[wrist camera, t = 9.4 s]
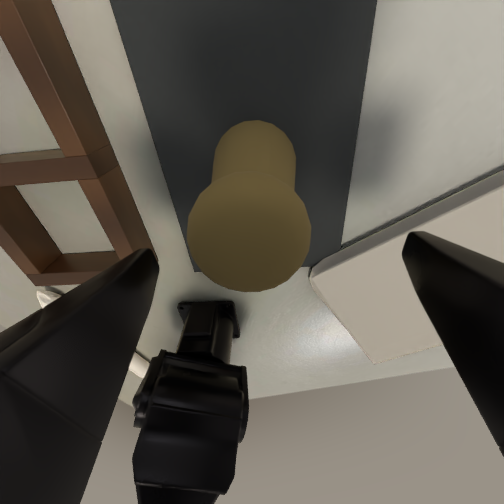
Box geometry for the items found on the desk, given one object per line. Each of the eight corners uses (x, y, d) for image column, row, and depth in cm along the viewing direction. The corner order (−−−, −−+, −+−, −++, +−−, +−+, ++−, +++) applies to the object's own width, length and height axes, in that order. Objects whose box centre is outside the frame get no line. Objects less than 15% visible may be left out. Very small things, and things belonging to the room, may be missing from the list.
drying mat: (336, 261, 24) (338, 265, 23) (195, 268, 25) (194, 272, 24) (382, -60, 12) (387, -66, 11) (108, -17, 13) (102, -20, 13)
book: (597, 262, 23) (651, 293, 20) (357, 342, 31) (369, 373, 28) (622, 109, 15) (716, 121, 12) (297, 270, 24) (303, 302, 21)
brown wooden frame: (158, 260, 24) (147, 281, 22) (56, 266, 25) (35, 286, 23) (27, -57, 12) (-30, -88, 10) (-159, -24, 13) (-253, -45, 11)
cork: (258, 217, 20) (254, 330, 12) (197, 170, 18) (136, 264, 9) (313, 162, 18) (365, 255, 9) (249, 97, 15) (232, 135, 7)
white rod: (37, 286, 27) (20, 302, 25) (50, 281, 27) (34, 297, 25) (142, 365, 37) (136, 381, 35) (154, 362, 36) (148, 378, 34)
